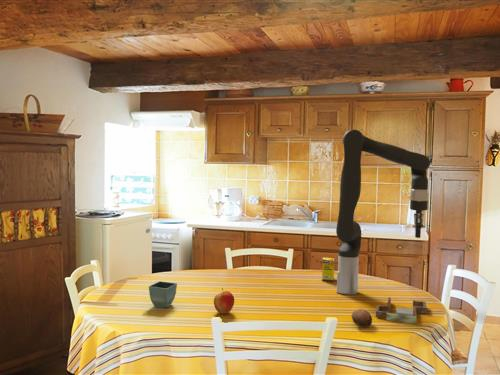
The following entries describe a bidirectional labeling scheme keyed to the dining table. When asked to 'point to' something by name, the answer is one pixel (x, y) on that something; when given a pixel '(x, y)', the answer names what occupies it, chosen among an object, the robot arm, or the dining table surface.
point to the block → (404, 311)
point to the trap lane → (385, 313)
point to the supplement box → (328, 269)
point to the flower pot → (162, 293)
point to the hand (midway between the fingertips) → (417, 237)
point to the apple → (224, 302)
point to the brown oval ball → (362, 318)
